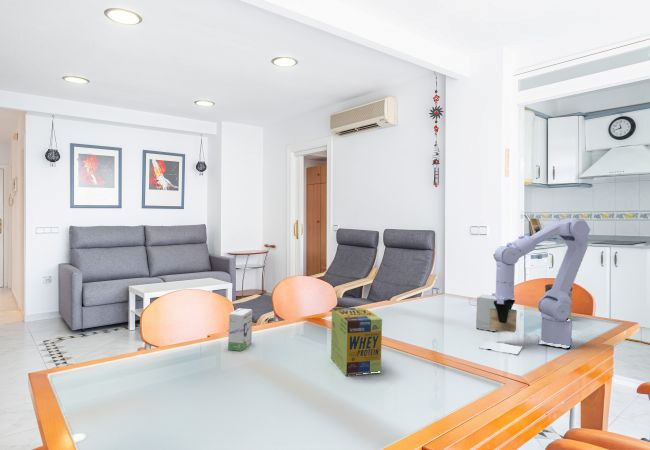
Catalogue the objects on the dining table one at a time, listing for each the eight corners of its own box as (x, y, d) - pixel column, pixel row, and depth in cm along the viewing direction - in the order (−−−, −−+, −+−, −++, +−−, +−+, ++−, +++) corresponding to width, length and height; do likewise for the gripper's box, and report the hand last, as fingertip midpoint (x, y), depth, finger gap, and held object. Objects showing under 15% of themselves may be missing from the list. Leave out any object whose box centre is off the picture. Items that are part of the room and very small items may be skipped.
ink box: (237, 342, 148) (238, 307, 147) (252, 343, 147) (252, 308, 146) (227, 350, 139) (227, 313, 139) (242, 351, 138) (242, 314, 138)
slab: (516, 330, 148) (516, 309, 148) (514, 332, 146) (515, 311, 146) (491, 326, 153) (492, 306, 152) (489, 328, 150) (490, 308, 150)
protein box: (346, 377, 119) (347, 320, 118) (330, 358, 134) (331, 307, 133) (381, 373, 122) (383, 318, 121) (362, 355, 136) (363, 306, 136)
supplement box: (495, 332, 165) (496, 299, 164) (475, 329, 169) (476, 296, 168) (500, 328, 170) (501, 296, 170) (481, 325, 175) (482, 293, 174)
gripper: (497, 278, 157) (495, 315, 157) (487, 283, 145) (486, 324, 145) (518, 280, 153) (517, 318, 153) (510, 285, 141) (509, 327, 141)
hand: (503, 321), depth 149 cm, fingers closed on slab, 3 cm apart
